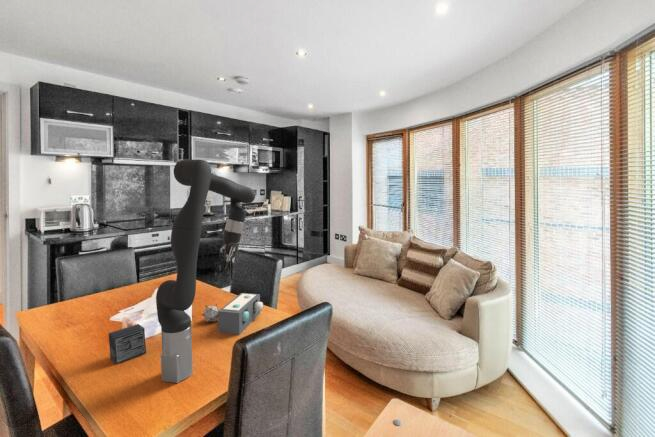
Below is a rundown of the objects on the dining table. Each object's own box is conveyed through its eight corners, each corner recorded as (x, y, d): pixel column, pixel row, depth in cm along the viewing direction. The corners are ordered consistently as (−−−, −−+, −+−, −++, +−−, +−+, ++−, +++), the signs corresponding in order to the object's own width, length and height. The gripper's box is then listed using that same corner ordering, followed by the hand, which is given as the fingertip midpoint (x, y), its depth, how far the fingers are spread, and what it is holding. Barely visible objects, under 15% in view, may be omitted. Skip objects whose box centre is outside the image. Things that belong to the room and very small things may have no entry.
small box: (140, 347, 128) (138, 322, 126) (146, 353, 123) (145, 327, 122) (109, 358, 119) (107, 332, 118) (115, 365, 115) (113, 337, 114)
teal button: (245, 323, 142) (244, 313, 142) (238, 322, 143) (238, 313, 142) (249, 319, 147) (248, 309, 146) (243, 318, 147) (242, 309, 147)
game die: (213, 330, 151) (212, 319, 145) (198, 322, 152) (196, 311, 146) (224, 315, 158) (224, 304, 151) (210, 308, 159) (209, 297, 152)
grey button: (259, 312, 154) (259, 304, 153) (253, 312, 154) (253, 303, 154) (262, 309, 158) (262, 300, 158) (257, 308, 159) (257, 300, 158)
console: (239, 334, 139) (239, 311, 138) (218, 332, 141) (217, 309, 140) (260, 313, 163) (259, 292, 162) (241, 311, 164) (241, 291, 163)
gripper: (232, 229, 147) (223, 266, 146) (218, 227, 134) (207, 267, 133) (247, 233, 145) (237, 270, 144) (233, 232, 132) (223, 272, 131)
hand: (223, 269), depth 139 cm, fingers closed
